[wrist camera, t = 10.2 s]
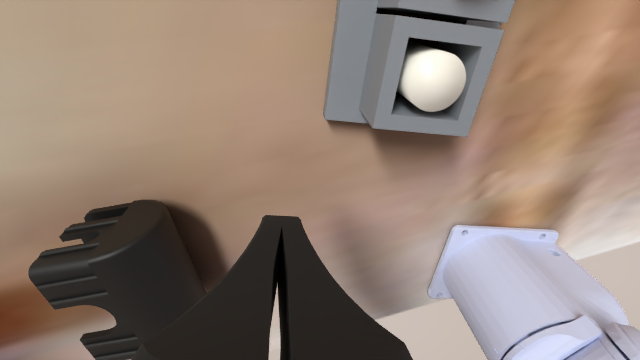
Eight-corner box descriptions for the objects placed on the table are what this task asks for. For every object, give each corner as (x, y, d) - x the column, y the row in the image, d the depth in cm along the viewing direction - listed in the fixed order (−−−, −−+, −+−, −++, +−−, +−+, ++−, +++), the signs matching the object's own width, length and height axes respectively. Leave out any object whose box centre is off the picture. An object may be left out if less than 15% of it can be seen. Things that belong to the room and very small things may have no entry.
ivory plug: (434, 45, 19) (474, 55, 15) (422, 92, 20) (455, 114, 16) (389, 39, 19) (416, 48, 15) (379, 88, 20) (402, 109, 16)
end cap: (223, 286, 27) (205, 363, 22) (141, 300, 27) (101, 382, 22) (181, 186, 23) (143, 250, 17) (82, 204, 23) (9, 274, 17)
